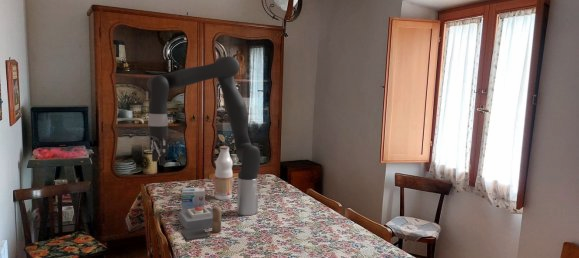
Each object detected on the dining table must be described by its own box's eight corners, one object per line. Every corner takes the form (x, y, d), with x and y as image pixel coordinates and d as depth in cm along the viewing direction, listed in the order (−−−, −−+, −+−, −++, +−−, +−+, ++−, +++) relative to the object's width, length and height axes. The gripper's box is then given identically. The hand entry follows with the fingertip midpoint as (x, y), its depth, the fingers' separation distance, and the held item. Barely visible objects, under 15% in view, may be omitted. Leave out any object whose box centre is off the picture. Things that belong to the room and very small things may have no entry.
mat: (202, 229, 159) (202, 228, 159) (209, 236, 152) (209, 235, 152) (181, 232, 155) (181, 231, 155) (187, 240, 147) (187, 239, 147)
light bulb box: (181, 214, 176) (181, 191, 175) (181, 209, 183) (181, 187, 181) (204, 213, 179) (205, 191, 178) (204, 208, 185) (204, 187, 184)
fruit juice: (219, 201, 198) (221, 148, 195) (211, 196, 206) (212, 145, 203) (235, 198, 204) (236, 147, 201) (226, 194, 212) (227, 144, 208)
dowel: (219, 229, 160) (219, 206, 159) (222, 232, 157) (222, 208, 156) (210, 230, 158) (211, 207, 157) (213, 233, 155) (214, 210, 154)
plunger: (201, 215, 168) (201, 205, 168) (204, 218, 165) (204, 208, 165) (193, 216, 166) (193, 206, 166) (195, 219, 163) (196, 209, 163)
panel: (209, 216, 176) (209, 204, 175) (219, 226, 163) (219, 213, 163) (178, 220, 168) (178, 208, 168) (186, 231, 156) (187, 218, 156)
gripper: (173, 126, 152) (173, 165, 154) (161, 122, 163) (161, 159, 165) (154, 126, 147) (155, 167, 149) (143, 123, 158) (143, 161, 160)
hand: (158, 163), depth 157 cm, fingers open, 8 cm apart
